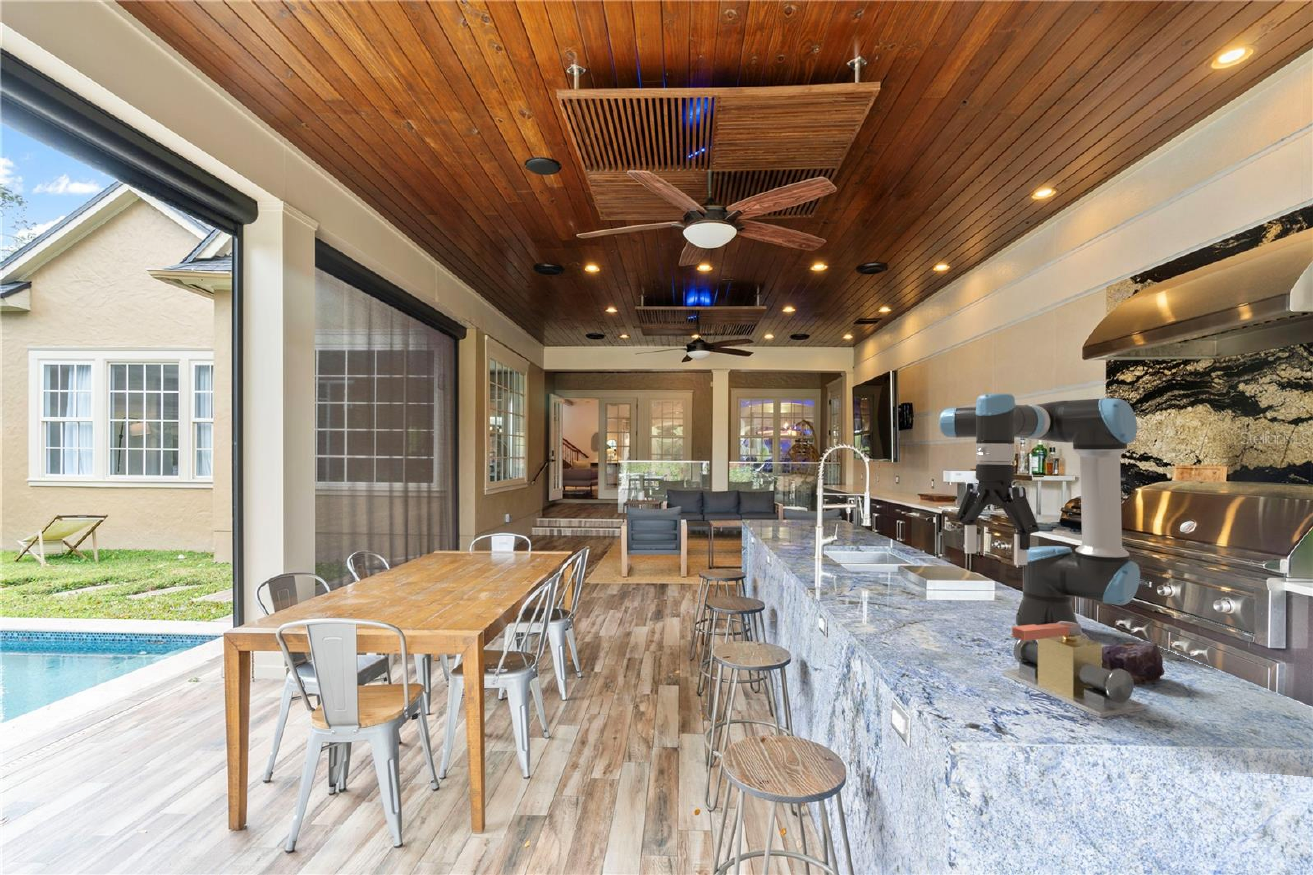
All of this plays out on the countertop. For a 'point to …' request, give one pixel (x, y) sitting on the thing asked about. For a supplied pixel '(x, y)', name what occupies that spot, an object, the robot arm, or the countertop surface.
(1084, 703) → the valve
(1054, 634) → the lever
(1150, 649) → the rock
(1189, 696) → the countertop surface
